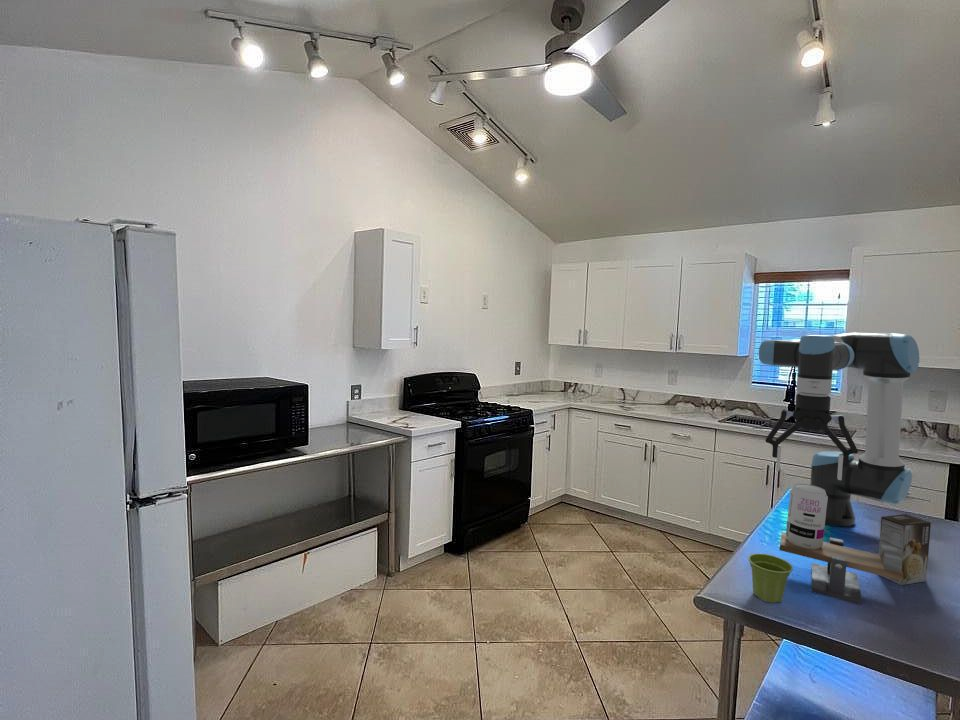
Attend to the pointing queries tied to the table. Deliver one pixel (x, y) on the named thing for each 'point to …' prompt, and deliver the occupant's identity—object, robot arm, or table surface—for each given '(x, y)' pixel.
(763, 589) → the plant pot
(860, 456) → the robot arm
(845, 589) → the stand
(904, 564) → the coffee box
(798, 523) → the supplement can
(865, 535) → the table surface
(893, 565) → the balance beam
